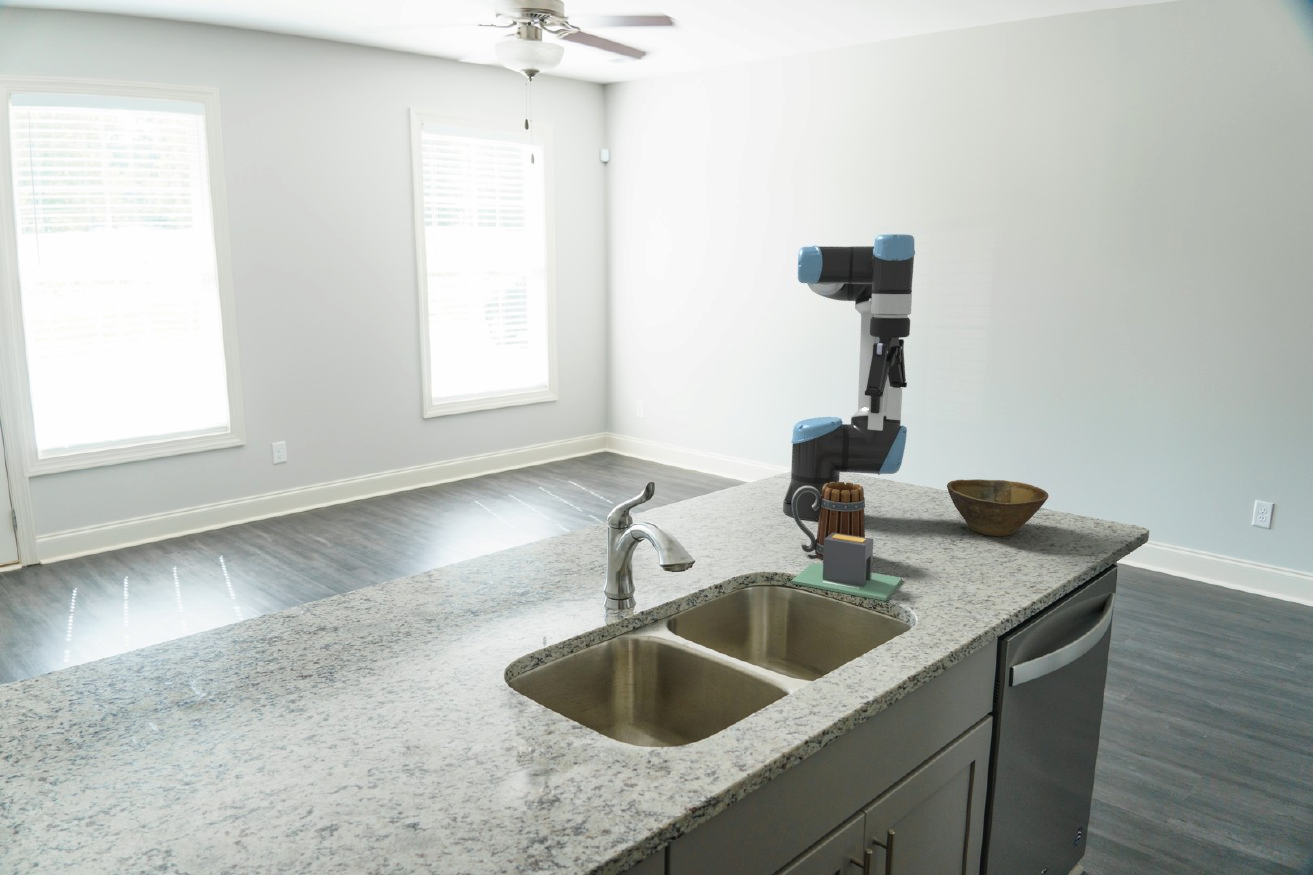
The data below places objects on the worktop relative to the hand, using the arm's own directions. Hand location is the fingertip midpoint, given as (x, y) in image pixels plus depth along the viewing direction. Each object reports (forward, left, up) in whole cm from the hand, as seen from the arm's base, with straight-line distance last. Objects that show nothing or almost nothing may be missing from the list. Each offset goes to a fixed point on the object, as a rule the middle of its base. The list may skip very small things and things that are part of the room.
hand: (884, 424), depth 175 cm
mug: (0, -10, -29) cm, 31 cm away
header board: (+14, -2, -29) cm, 32 cm away
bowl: (-36, +17, -29) cm, 49 cm away
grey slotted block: (+14, -2, -28) cm, 31 cm away
